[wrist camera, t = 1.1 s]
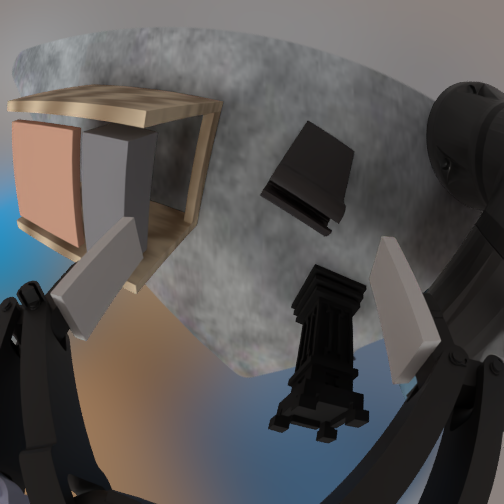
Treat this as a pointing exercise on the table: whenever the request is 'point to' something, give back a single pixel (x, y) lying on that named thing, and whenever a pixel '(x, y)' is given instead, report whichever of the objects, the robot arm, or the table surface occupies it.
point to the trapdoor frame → (141, 115)
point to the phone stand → (312, 179)
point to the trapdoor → (83, 178)
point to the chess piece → (324, 358)
